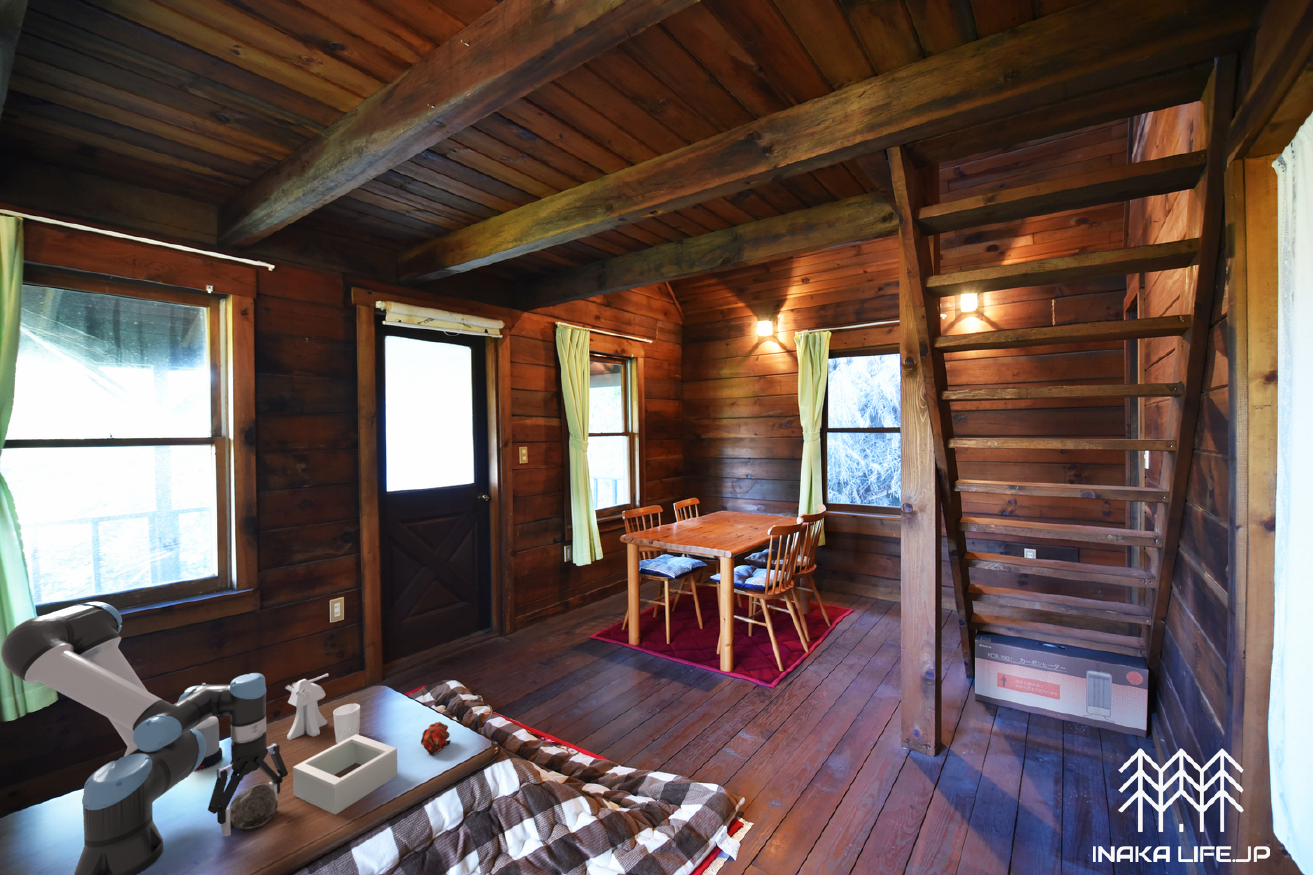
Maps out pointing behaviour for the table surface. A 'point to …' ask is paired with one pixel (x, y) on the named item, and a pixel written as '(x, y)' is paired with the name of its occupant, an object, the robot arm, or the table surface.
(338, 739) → the white cup
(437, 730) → the dragon fruit
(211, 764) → the humidifier
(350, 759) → the box
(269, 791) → the fossil
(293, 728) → the toy gun turret
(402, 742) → the table surface
